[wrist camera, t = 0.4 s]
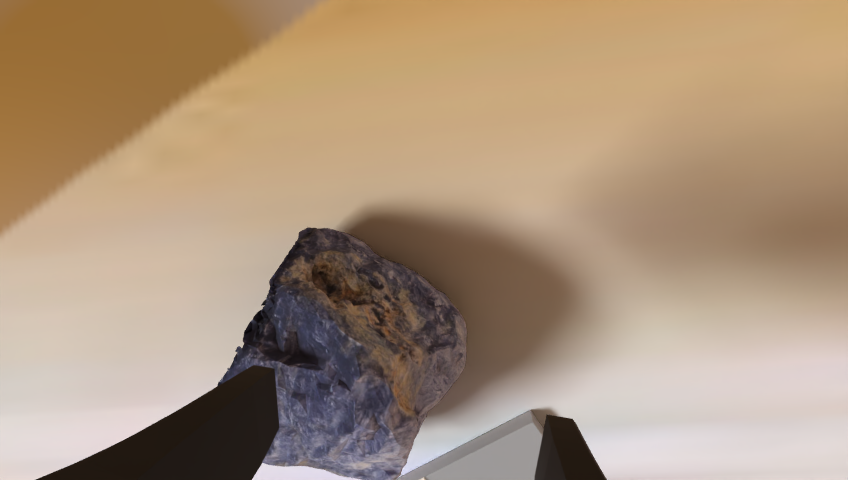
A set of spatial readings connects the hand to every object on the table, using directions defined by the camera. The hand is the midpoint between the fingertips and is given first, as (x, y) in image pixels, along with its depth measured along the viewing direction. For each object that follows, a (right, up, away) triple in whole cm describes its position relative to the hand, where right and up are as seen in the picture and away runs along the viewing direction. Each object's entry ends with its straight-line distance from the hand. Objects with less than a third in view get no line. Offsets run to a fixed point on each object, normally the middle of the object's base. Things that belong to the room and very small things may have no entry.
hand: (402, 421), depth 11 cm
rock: (-3, -1, +12) cm, 12 cm away
